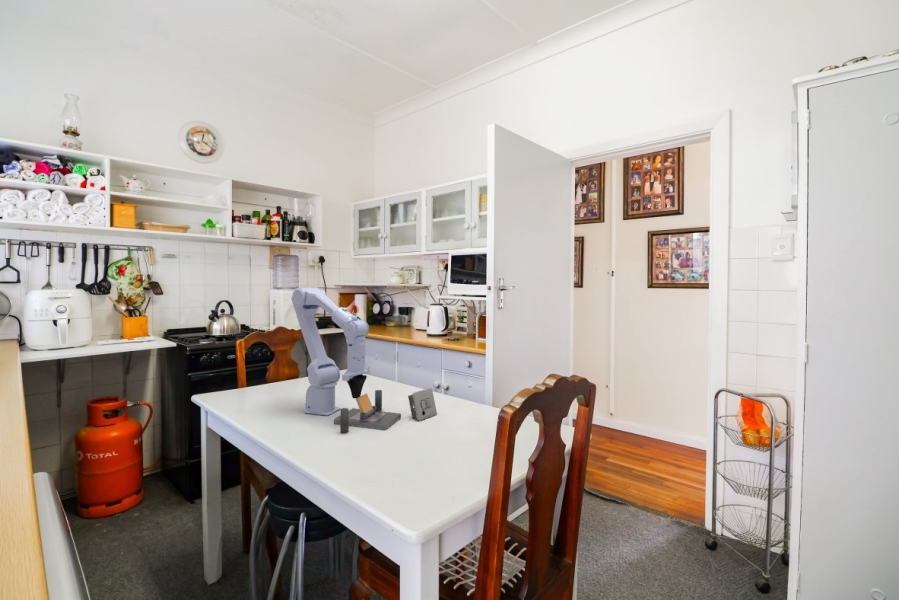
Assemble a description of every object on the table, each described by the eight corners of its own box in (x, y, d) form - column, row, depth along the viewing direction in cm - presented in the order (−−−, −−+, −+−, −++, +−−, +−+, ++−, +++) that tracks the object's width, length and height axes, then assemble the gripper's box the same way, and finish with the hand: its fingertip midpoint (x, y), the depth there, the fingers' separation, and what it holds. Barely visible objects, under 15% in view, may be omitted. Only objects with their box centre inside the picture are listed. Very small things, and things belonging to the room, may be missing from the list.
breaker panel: (334, 423, 138) (334, 412, 138) (352, 412, 150) (352, 401, 150) (385, 430, 133) (385, 418, 133) (400, 418, 145) (401, 407, 145)
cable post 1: (338, 432, 130) (338, 410, 130) (343, 430, 133) (343, 407, 132) (345, 433, 130) (345, 410, 129) (350, 431, 132) (350, 408, 132)
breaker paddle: (362, 419, 139) (354, 399, 139) (371, 413, 145) (363, 394, 145) (366, 417, 138) (358, 397, 139) (375, 411, 144) (367, 392, 145)
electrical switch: (418, 421, 142) (417, 393, 142) (407, 420, 145) (406, 392, 145) (437, 415, 149) (435, 388, 149) (426, 413, 152) (424, 387, 152)
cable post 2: (373, 410, 152) (373, 391, 152) (376, 409, 155) (376, 389, 154) (380, 411, 152) (380, 391, 151) (382, 409, 154) (383, 390, 154)
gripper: (356, 361, 134) (356, 405, 134) (377, 354, 148) (377, 393, 148) (336, 360, 136) (336, 402, 136) (358, 352, 150) (358, 391, 150)
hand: (356, 397), depth 142 cm, fingers closed
